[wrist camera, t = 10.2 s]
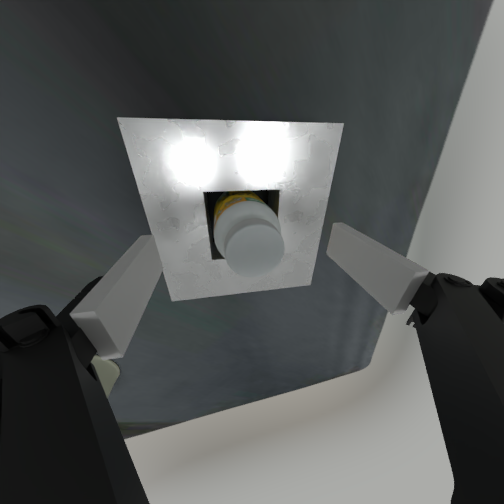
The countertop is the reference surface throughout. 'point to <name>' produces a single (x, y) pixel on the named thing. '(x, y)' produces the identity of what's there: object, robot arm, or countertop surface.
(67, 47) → the countertop surface
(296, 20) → the countertop surface
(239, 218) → the supplement bottle
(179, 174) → the block with square hole
